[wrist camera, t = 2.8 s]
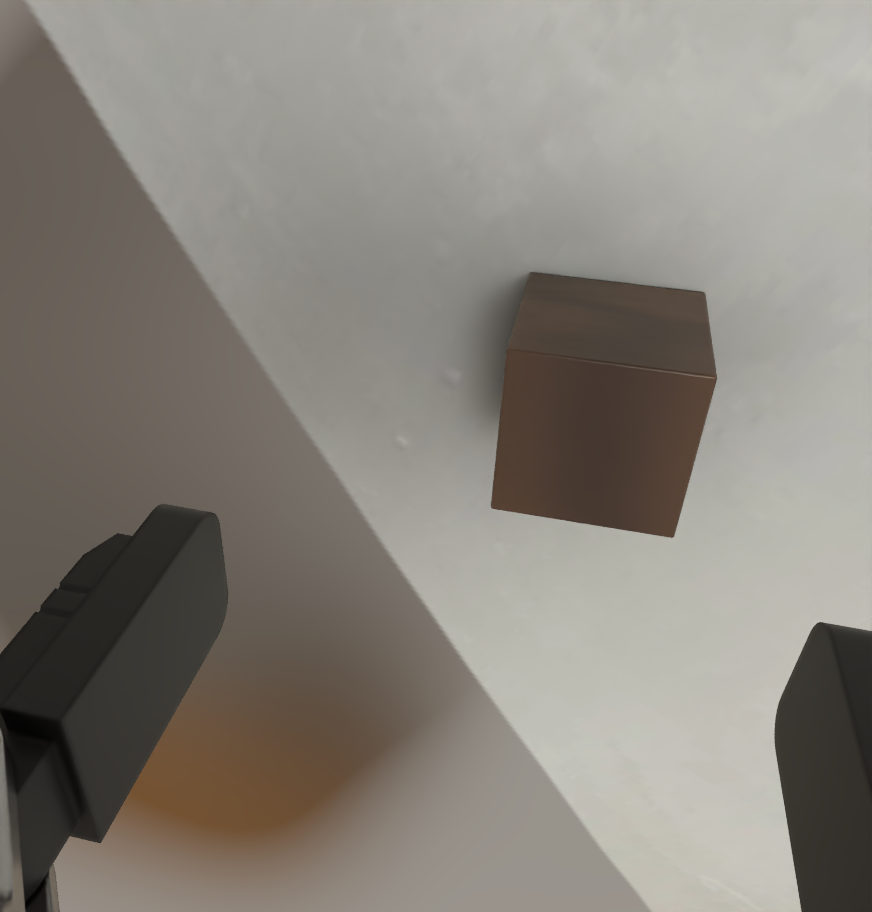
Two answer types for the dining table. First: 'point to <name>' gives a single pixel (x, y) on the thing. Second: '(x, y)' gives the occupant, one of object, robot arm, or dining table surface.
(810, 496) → the dining table surface
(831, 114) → the dining table surface
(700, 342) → the block
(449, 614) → the dining table surface
